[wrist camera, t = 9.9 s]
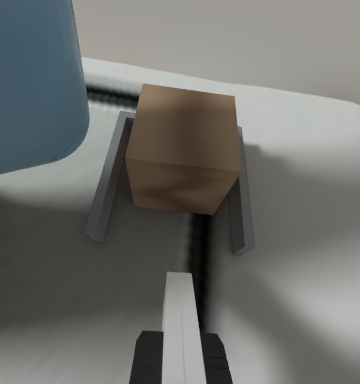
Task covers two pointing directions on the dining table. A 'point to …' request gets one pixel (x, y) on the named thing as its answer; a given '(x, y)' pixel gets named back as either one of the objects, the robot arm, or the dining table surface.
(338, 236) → the dining table surface
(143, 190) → the walnut block
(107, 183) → the grey u-shaped frame
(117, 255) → the dining table surface
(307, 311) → the dining table surface
